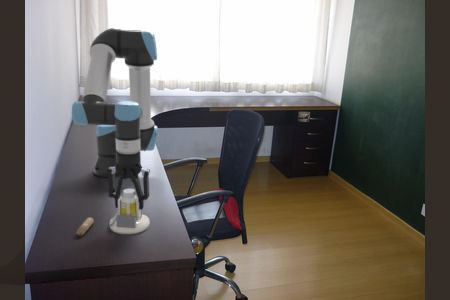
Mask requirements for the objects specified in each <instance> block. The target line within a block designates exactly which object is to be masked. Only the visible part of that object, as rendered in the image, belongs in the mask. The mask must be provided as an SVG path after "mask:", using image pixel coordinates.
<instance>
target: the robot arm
mask: <svg viewBox="0 0 450 300" xmlns="http://www.w3.org/2000/svg"><path fill="white" fill-rule="evenodd" d="M89 57H90V61H89V65H88V71H87V74H86V80H85V84H84V89H83V94H82V98H81V100H79V101H74V102H73V103H72V105H71V118H72V121H73V123H74V124H75V125H84V126H96V134H95V137H96V152H97V157H96V160H95V164H94V168H93V172H94V175H96V176H98V177H102V178H108V197H110V198H113V199H114V207H115V208H116V209H117V212H118V215H121V198H122V197H123V196H121V195H122V192H123V191H122V190H123V186H124V184H125V180H127V179H128V180H131V182H132V183H133V186H134V187H133V188H134V190H135V194H136V196H137V198H138V200H137V201H136V217H137V219H139V218H140V217H141V210H142V211H143V209H144V207H145V202H144V201H146V200H148V199H149V197H150V182H149V181H150V180H149V179H150V178H149V175H150V172H151V170H150V169H149V168H148V169H146V168H143V166H142V164H141V161H142V160H141V157H142V156H141V152H151V151H154V150H155V147H156V142H157V135H158V126H157V125H155V122H154V120H153V119H152V117H151V116H152V115H151V114H152V113H151V111H152V110H151V109H152V108H151V103H152V102H151V67H153V65H154V63H155V61H157V60H158V51H157V42H156V36H155V33H154V31H153V30H150V29H144V28H130V27H129V28H127V27H126V28H123V27H121V28H120V27H112V28H108V29H105V30H104V31H102V32H100V33H99V34H98V35H97V36H96V37H95V38H94V40H93V41H92V43H91V44H90V49H89ZM116 59H124V65H126V66H127V67H128V77H129V80H128V81H129V98H130V99H129V100H125V101H118V102H107V95H108V88H109V84H110V83H109V82H110V76H111V72H112V71H111V70H112V65H113V63H114V62H115V61H116ZM140 173H141V175H142V184H141V182H140V178H139V174H140ZM116 177H119V178H118V183H117V186H116ZM141 185H142V186H143V189H142V186H141Z"/></svg>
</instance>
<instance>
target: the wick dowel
mask: <svg viewBox="0 0 450 300" xmlns="http://www.w3.org/2000/svg"><path fill="white" fill-rule="evenodd" d="M94 222H95V221H94V219H93V217H87V218H86V219H85V221H83V222H82V224H81V225H80V226H79V227H78V229H77V230H76V231H75V232H76V235H77V236H84V234H86V232H87V231H88V230H89V229H90V227H91V226H92V225H93V224H94Z"/></svg>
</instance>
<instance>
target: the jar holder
mask: <svg viewBox="0 0 450 300" xmlns="http://www.w3.org/2000/svg"><path fill="white" fill-rule="evenodd" d="M108 227H109V229H110V230H111V232H113V233H115V234H119V235H135V234H140V233H143V232H144V231H146V230H147V229H148V228H149V227H150V218H149V217H148V216H147V215H145V214H143V209H142V210H141V217H140V218H139V219H136V216H127V215H118V211H117V212H116V214H115V215H114V216H113V217H112V218H111V219H110V220H109V224H108Z"/></svg>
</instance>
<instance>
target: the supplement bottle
mask: <svg viewBox="0 0 450 300" xmlns="http://www.w3.org/2000/svg"><path fill="white" fill-rule="evenodd" d="M122 190H123V191H122V196H121V197H122V198H121V215H127V216H136V201H137V200H138V197H137V195H136V190H135V188H125V189H122ZM136 219H137V217H136Z"/></svg>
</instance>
